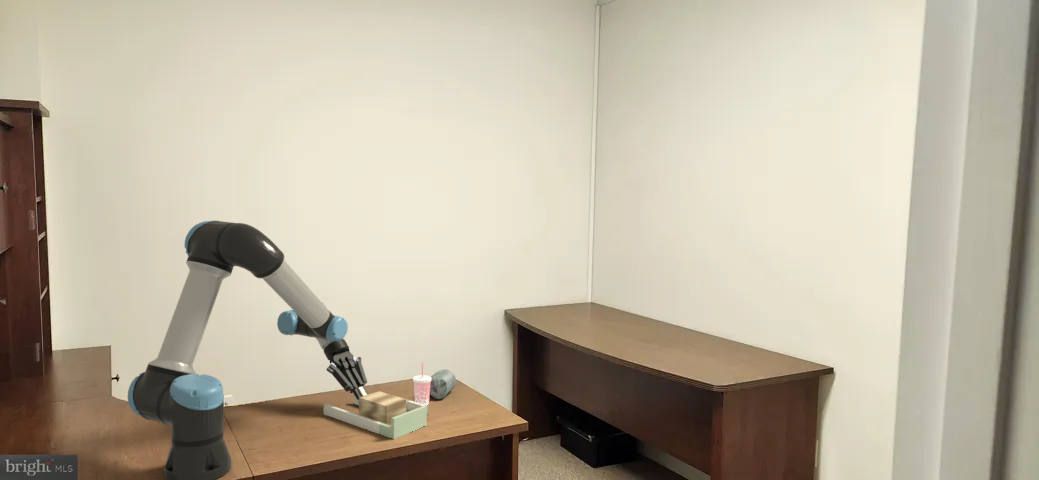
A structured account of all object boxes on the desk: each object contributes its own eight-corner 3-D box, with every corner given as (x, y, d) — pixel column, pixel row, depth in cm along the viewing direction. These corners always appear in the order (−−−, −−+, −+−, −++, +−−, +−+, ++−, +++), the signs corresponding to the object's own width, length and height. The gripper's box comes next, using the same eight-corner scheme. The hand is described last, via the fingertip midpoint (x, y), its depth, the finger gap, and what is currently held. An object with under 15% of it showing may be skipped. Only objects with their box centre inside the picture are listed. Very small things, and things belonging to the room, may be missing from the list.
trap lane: (323, 414, 209) (323, 395, 209) (373, 397, 226) (373, 380, 225) (393, 439, 191) (394, 418, 191) (442, 419, 208) (442, 400, 207)
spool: (449, 394, 222) (440, 365, 225) (425, 404, 225) (416, 375, 227) (466, 392, 235) (457, 365, 238) (443, 401, 237) (434, 374, 240)
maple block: (358, 421, 205) (359, 397, 204) (378, 414, 211) (378, 391, 210) (386, 430, 198) (386, 406, 197) (405, 423, 204) (406, 399, 204)
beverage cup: (433, 406, 219) (434, 364, 218) (414, 408, 217) (415, 366, 216) (428, 400, 225) (429, 359, 224) (410, 402, 223) (411, 361, 222)
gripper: (343, 347, 224) (377, 407, 216) (311, 355, 213) (345, 418, 205) (354, 334, 220) (389, 395, 212) (322, 341, 210) (357, 405, 202)
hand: (368, 406), depth 209 cm, fingers closed
